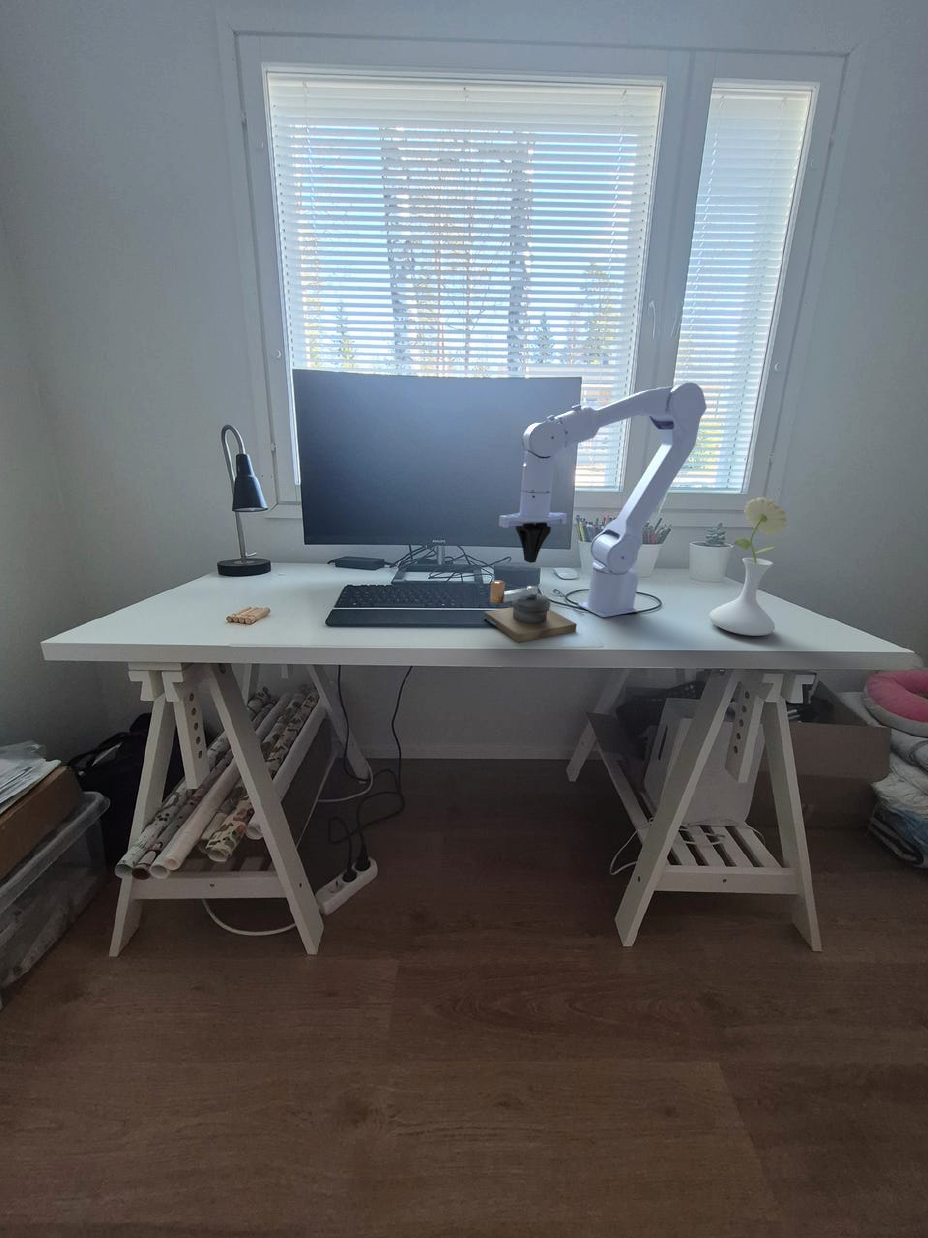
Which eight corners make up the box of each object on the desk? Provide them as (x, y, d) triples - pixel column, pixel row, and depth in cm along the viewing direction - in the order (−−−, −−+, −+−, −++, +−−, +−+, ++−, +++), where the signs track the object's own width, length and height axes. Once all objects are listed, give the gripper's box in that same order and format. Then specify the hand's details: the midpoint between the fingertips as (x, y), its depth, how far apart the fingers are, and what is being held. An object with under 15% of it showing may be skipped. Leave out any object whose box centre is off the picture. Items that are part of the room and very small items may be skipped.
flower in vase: (786, 642, 87) (830, 505, 78) (727, 641, 86) (765, 503, 77) (743, 616, 99) (778, 494, 90) (691, 615, 99) (720, 493, 89)
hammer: (531, 594, 89) (533, 574, 88) (539, 598, 87) (541, 577, 86) (487, 602, 84) (488, 581, 83) (495, 606, 82) (496, 585, 81)
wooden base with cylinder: (538, 610, 98) (540, 584, 96) (575, 631, 88) (579, 603, 86) (483, 618, 92) (485, 592, 90) (517, 642, 82) (520, 613, 80)
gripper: (554, 488, 95) (547, 553, 100) (492, 489, 89) (488, 559, 94) (577, 492, 89) (568, 561, 94) (513, 494, 83) (507, 568, 88)
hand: (529, 561), depth 94 cm, fingers closed
